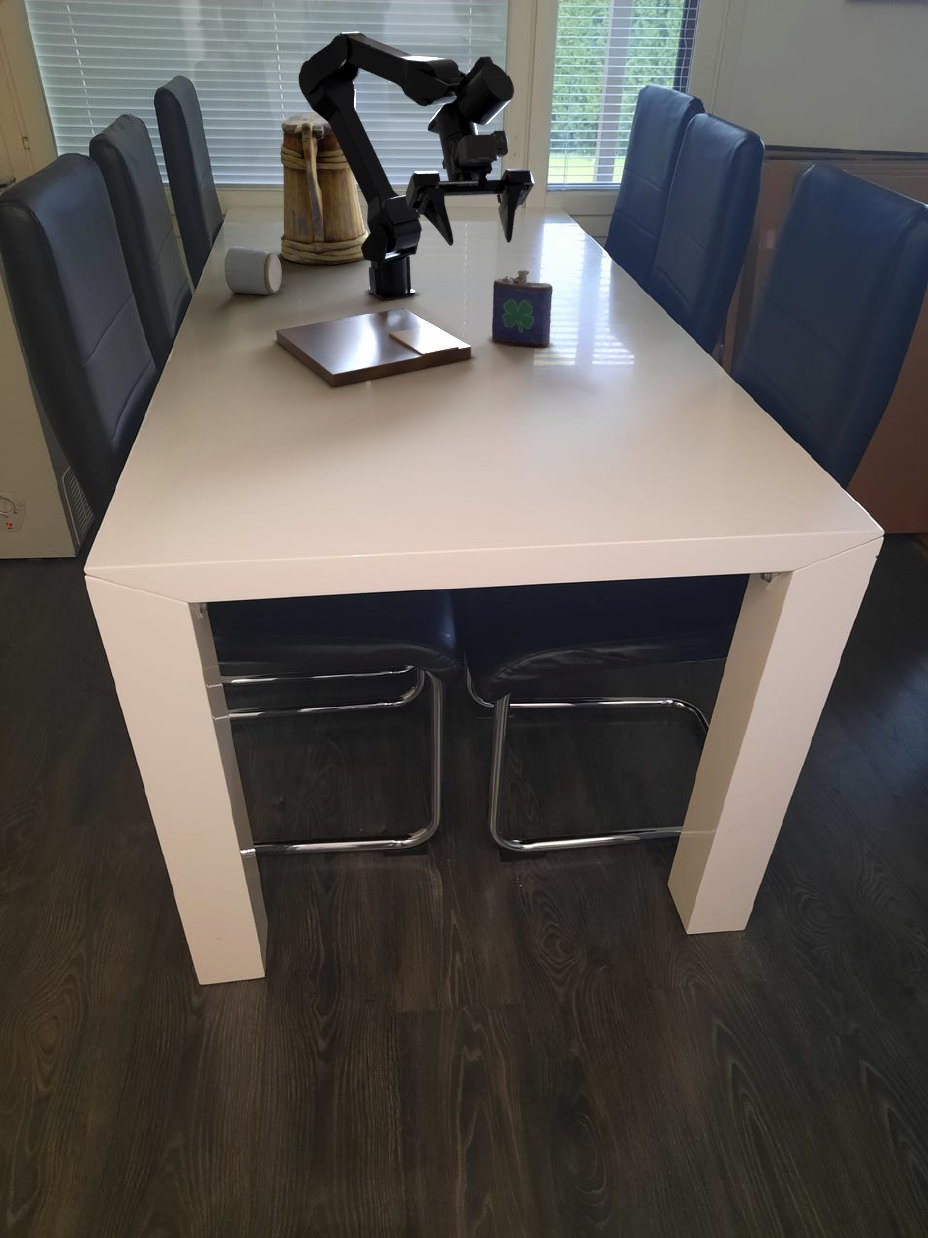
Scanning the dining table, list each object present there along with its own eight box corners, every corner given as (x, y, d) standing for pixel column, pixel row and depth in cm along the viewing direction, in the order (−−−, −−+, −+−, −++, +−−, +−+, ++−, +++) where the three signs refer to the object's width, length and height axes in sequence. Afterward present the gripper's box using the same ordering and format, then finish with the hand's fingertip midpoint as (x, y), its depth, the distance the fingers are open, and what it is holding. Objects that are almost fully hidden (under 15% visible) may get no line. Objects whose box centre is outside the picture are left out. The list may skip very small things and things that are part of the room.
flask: (551, 343, 132) (555, 270, 125) (545, 349, 130) (549, 275, 123) (495, 336, 134) (496, 264, 128) (488, 342, 132) (489, 269, 126)
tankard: (369, 242, 184) (361, 108, 170) (370, 271, 166) (361, 123, 151) (285, 244, 183) (268, 109, 168) (276, 274, 164) (257, 124, 149)
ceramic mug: (270, 299, 150) (264, 253, 146) (227, 297, 152) (220, 251, 147) (292, 284, 159) (287, 240, 154) (251, 282, 160) (245, 238, 156)
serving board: (402, 318, 142) (402, 305, 141) (471, 358, 127) (471, 344, 125) (277, 341, 133) (275, 327, 132) (334, 387, 118) (332, 372, 116)
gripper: (411, 107, 118) (433, 214, 117) (535, 106, 123) (557, 208, 122) (396, 158, 129) (416, 256, 128) (511, 155, 134) (531, 250, 133)
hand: (480, 242), depth 128 cm, fingers open, 9 cm apart
